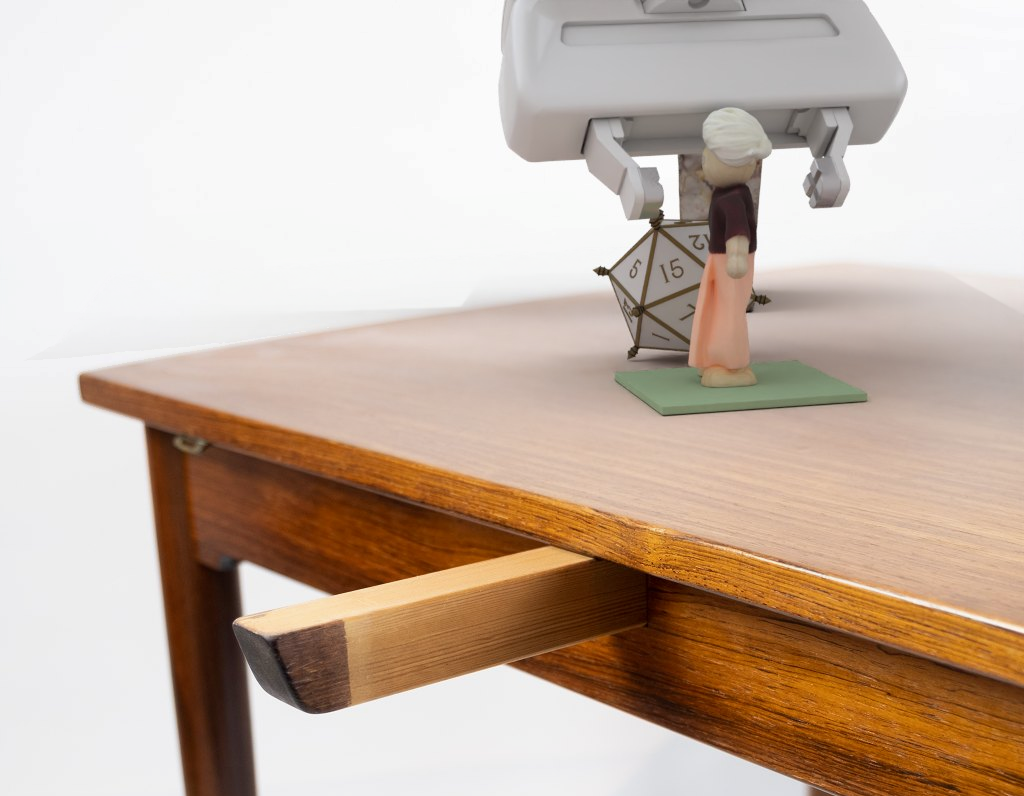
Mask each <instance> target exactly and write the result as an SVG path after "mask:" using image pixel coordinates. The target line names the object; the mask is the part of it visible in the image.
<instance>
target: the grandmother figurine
mask: <svg viewBox="0 0 1024 796" xmlns="http://www.w3.org/2000/svg"><path fill="white" fill-rule="evenodd" d="M702 132H703V139H704V142H705V143H706V147H705V149H704V151H703V155H702V168H703V172H704V174H705V176H706V178H707V179H708V180H709V181H710V182H711V183H712V184H713V185H715V186H716V188H715V190H714V191H713V194H712V197H711V203H710V207H709V215H708V224H709V230H710V241H709V245H708V250H709V254H708V257H707V261H706V265H705V268H704V272H703V276H702V280H701V284H700V289H699V294H698V299H697V304H696V309H695V315H694V320H693V326H692V333H691V341H690V352H688V353H689V354H688V362H687V363H688V364H687V365H688V367H693V368H699V371H698V375H699V376H702V379H701V384H702V385H703V386H705V387H715V388H722V387H739V386H750V385H755V384H756V383H757V380H756V376H755V375H754V373H753V372H752V369H751V367H750V366H749V363H751V362H750V354H751V353H750V352H751V351H750V340H749V339H750V337H749V328H748V320H747V311H746V308H747V305H748V303H749V300H750V297H751V292H752V286H753V287H754V285H753V284H754V274H755V255H756V252H757V249H758V227H757V228H756V222H755V215H754V205H753V200H752V195H751V192H750V189H749V187H748V186H747V185H746V184H745V183H746V182H747V181H748V180H749V179H750V177H751V176H752V174H753V172H754V170H755V167H756V161H757V160H758V159H763V160H766V159H767V158H768V157H769V156H771V154H772V152H773V150H772V143H771V142H770V140H769V139H768V137H767V135H766V134H765V133H764V130H763V128H762V126H761V125H760V123H759V122H758V121H757V119H756V118H754V117H753V116H752V115H750V114H748V113H747V112H745V111H744V110H741V109H739V108H723V109H720V110H717V111H714V112H712V113H711V114H709V116H708V117H707V119H706V120H705V122H704V123H703V131H702Z"/></svg>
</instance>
